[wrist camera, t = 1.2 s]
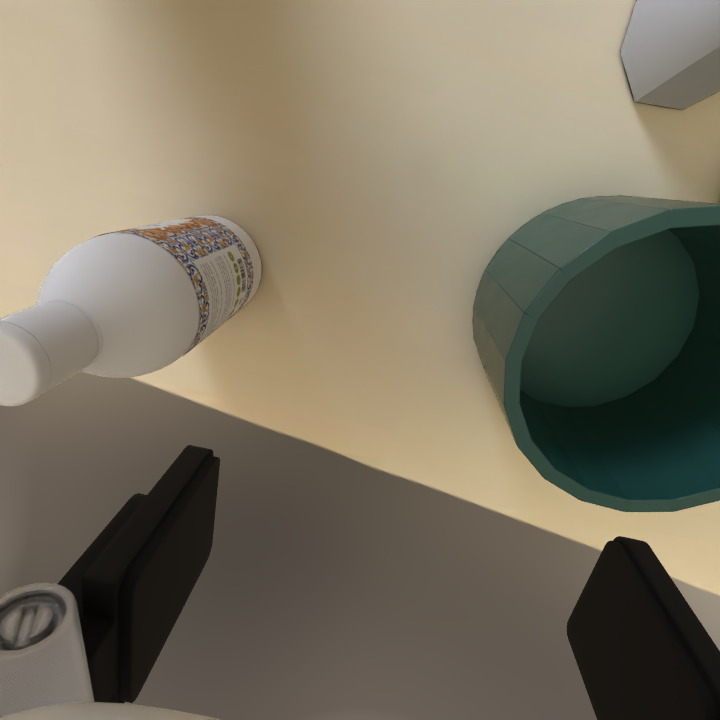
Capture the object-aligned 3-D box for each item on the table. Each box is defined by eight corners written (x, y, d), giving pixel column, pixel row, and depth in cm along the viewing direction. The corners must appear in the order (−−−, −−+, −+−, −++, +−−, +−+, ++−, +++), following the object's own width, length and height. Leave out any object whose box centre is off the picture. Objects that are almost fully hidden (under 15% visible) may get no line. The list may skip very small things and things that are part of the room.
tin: (473, 205, 31) (510, 220, 21) (727, 187, 30) (910, 192, 19) (471, 415, 37) (499, 513, 26) (685, 409, 35) (808, 511, 25)
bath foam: (237, 198, 32) (16, 229, 14) (279, 292, 35) (135, 427, 16) (152, 235, 34) (-153, 306, 15) (197, 323, 36) (-22, 479, 17)
